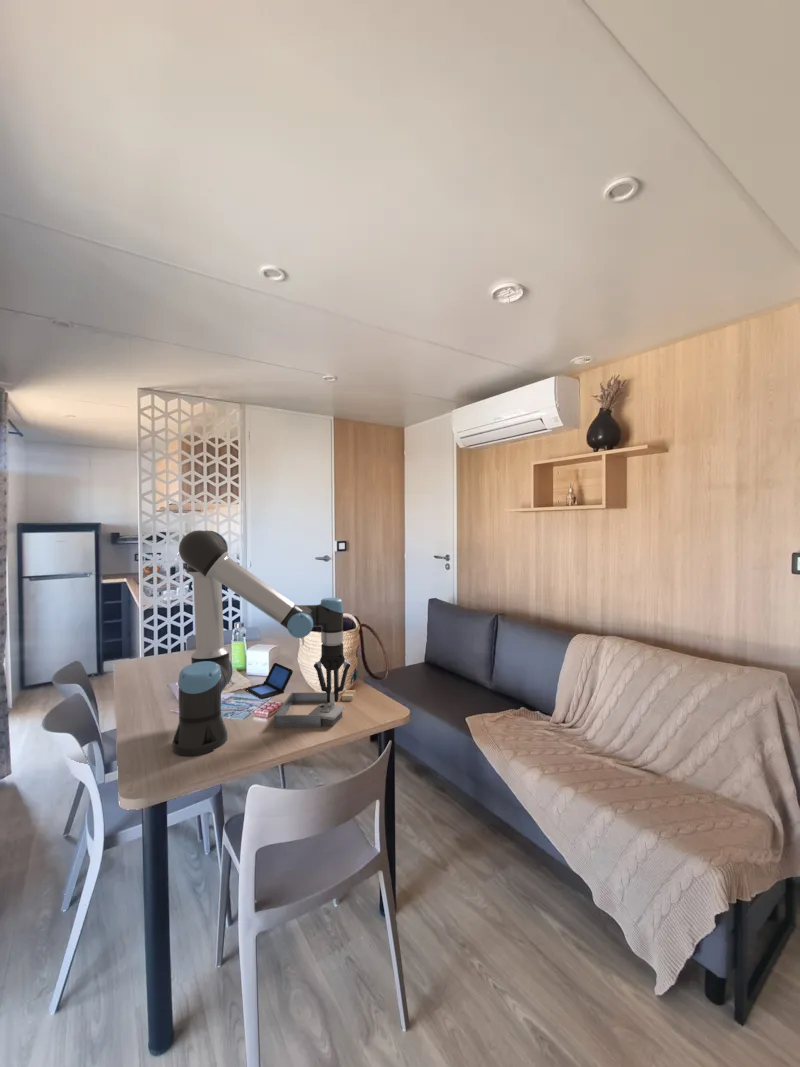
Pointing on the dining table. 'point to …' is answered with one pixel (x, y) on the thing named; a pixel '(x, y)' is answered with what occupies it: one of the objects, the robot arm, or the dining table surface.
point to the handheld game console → (272, 682)
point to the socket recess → (298, 720)
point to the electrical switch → (328, 713)
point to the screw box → (348, 695)
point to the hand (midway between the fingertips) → (332, 711)
